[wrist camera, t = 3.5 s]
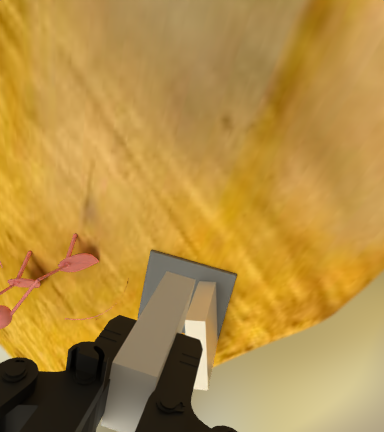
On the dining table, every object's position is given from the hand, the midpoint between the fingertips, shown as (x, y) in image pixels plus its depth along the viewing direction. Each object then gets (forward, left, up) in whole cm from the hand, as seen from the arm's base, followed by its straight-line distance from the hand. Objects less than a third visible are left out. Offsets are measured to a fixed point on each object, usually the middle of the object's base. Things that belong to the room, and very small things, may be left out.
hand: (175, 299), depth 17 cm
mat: (+19, -2, -31) cm, 36 cm away
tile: (+20, +2, -30) cm, 36 cm away
